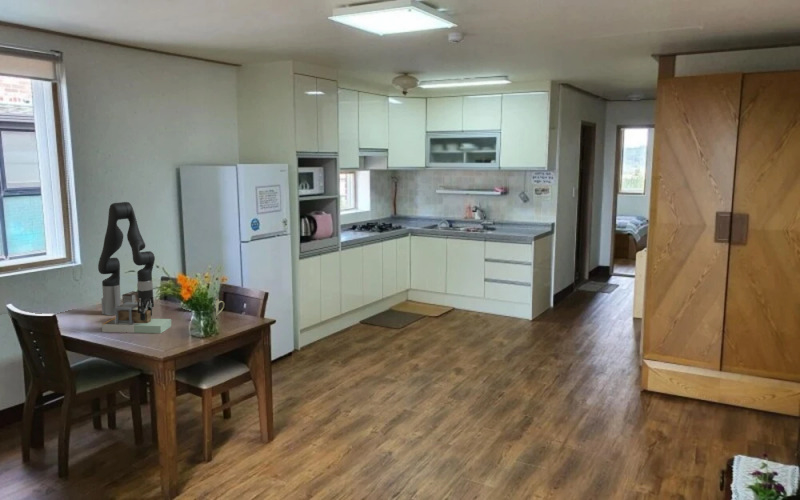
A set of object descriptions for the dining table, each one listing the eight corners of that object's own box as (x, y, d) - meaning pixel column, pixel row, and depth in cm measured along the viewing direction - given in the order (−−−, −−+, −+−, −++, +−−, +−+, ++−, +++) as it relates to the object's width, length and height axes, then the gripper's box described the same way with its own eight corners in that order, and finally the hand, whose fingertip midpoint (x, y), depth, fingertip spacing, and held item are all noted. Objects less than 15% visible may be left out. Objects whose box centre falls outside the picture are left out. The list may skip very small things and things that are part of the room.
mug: (216, 322, 329) (215, 302, 327) (199, 321, 331) (199, 301, 329) (225, 318, 340) (224, 298, 338) (209, 316, 341) (208, 296, 340)
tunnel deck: (102, 331, 306) (101, 307, 305) (115, 324, 320) (114, 301, 318) (160, 333, 306) (159, 309, 305) (171, 326, 320) (170, 303, 318)
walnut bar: (117, 322, 311) (117, 311, 310) (121, 320, 315) (121, 309, 314) (147, 323, 311) (147, 312, 310) (151, 320, 315) (150, 310, 314)
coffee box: (133, 318, 334) (132, 291, 332) (143, 319, 333) (142, 291, 331) (123, 322, 325) (122, 294, 323) (133, 323, 324) (132, 295, 322)
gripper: (144, 285, 317) (145, 314, 320) (132, 291, 303) (133, 321, 305) (157, 286, 317) (158, 314, 319) (146, 291, 303) (147, 321, 305)
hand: (146, 318), depth 312 cm, fingers open, 8 cm apart
